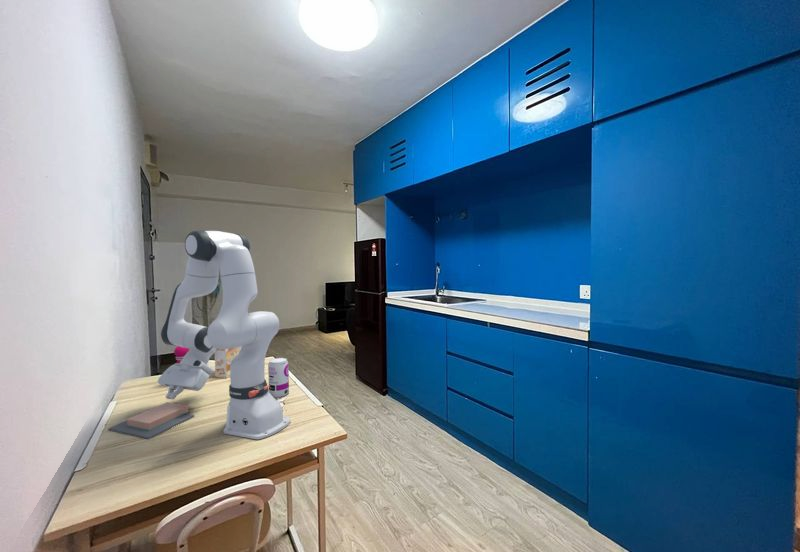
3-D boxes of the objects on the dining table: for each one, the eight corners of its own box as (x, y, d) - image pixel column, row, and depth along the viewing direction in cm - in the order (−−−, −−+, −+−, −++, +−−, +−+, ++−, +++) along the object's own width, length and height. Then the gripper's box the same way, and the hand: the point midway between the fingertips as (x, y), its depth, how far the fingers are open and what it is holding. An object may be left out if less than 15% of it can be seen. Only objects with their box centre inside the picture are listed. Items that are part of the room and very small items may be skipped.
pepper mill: (195, 381, 157) (194, 340, 156) (184, 386, 150) (182, 344, 149) (182, 380, 158) (180, 340, 157) (170, 386, 150) (168, 344, 150)
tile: (167, 402, 125) (127, 418, 112) (187, 405, 122) (149, 423, 109) (167, 408, 125) (127, 425, 112) (188, 412, 122) (149, 430, 109)
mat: (156, 409, 126) (156, 408, 126) (194, 416, 120) (194, 415, 120) (108, 430, 111) (108, 428, 111) (149, 439, 104) (149, 437, 104)
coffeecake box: (227, 378, 160) (225, 339, 159) (214, 377, 161) (213, 339, 161) (247, 368, 175) (245, 333, 174) (235, 368, 176) (234, 332, 175)
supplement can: (291, 390, 144) (290, 357, 143) (285, 397, 135) (284, 362, 135) (273, 390, 143) (272, 357, 143) (266, 398, 135) (265, 363, 135)
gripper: (168, 359, 131) (143, 392, 122) (206, 363, 124) (183, 398, 115) (179, 366, 135) (156, 398, 126) (216, 371, 129) (195, 405, 120)
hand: (169, 398), depth 121 cm, fingers closed
